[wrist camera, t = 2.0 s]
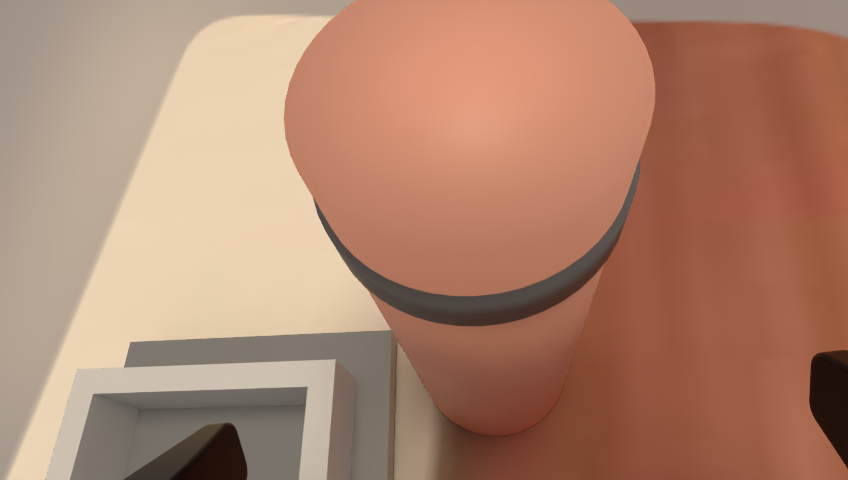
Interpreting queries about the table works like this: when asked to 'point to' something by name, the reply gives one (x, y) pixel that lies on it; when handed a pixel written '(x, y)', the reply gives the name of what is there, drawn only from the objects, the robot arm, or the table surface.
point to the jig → (239, 406)
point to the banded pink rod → (476, 180)
